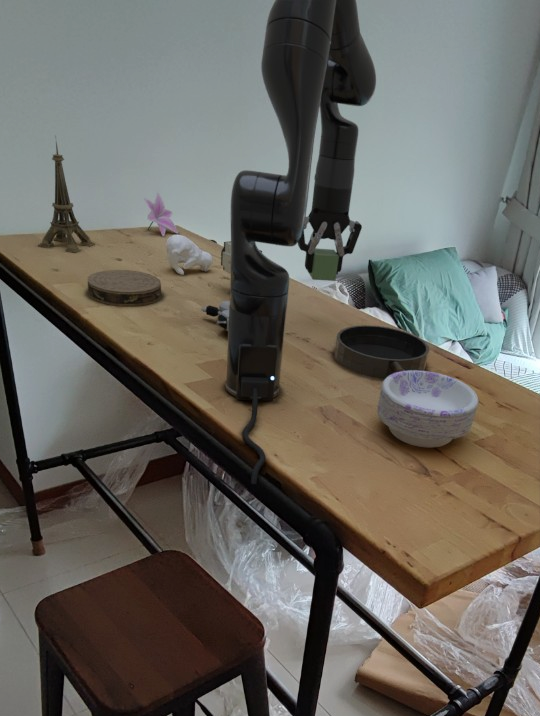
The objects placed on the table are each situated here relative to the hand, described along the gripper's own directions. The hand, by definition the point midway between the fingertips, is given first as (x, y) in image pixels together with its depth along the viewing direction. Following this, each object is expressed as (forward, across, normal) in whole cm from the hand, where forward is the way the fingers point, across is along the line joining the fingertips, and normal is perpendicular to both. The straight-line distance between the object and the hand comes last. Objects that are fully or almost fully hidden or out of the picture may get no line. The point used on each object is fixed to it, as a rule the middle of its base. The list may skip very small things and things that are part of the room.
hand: (322, 272), depth 137 cm
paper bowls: (+11, +8, -51) cm, 53 cm away
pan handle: (+8, +9, -34) cm, 37 cm away
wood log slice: (+11, -42, +12) cm, 45 cm away
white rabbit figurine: (+11, -27, +33) cm, 44 cm away
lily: (+11, -35, +71) cm, 80 cm away
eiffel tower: (+11, -59, +50) cm, 78 cm away
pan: (+11, +9, -21) cm, 25 cm away
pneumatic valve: (+11, -16, +16) cm, 25 cm away
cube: (+1, 0, 0) cm, 1 cm away
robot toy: (+11, -18, -6) cm, 22 cm away
